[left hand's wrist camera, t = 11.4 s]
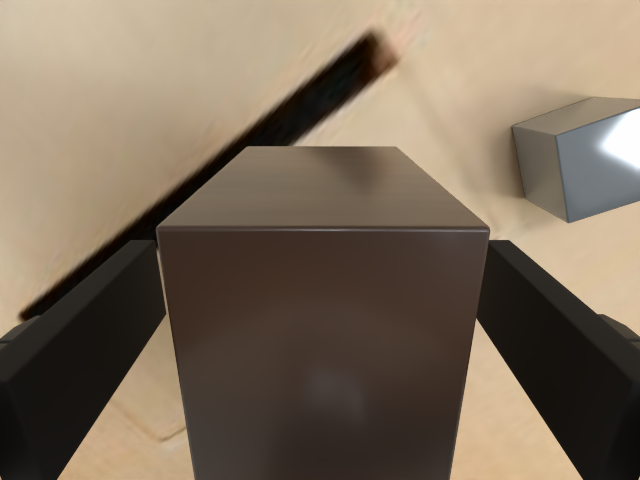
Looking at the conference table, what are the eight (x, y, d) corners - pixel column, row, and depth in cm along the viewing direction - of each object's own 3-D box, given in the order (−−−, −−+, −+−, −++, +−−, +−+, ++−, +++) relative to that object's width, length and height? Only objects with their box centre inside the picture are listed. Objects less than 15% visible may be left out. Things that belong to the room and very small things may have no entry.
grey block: (511, 125, 25) (555, 135, 20) (594, 96, 24) (659, 99, 20) (525, 199, 27) (568, 224, 22) (602, 173, 26) (664, 193, 21)
